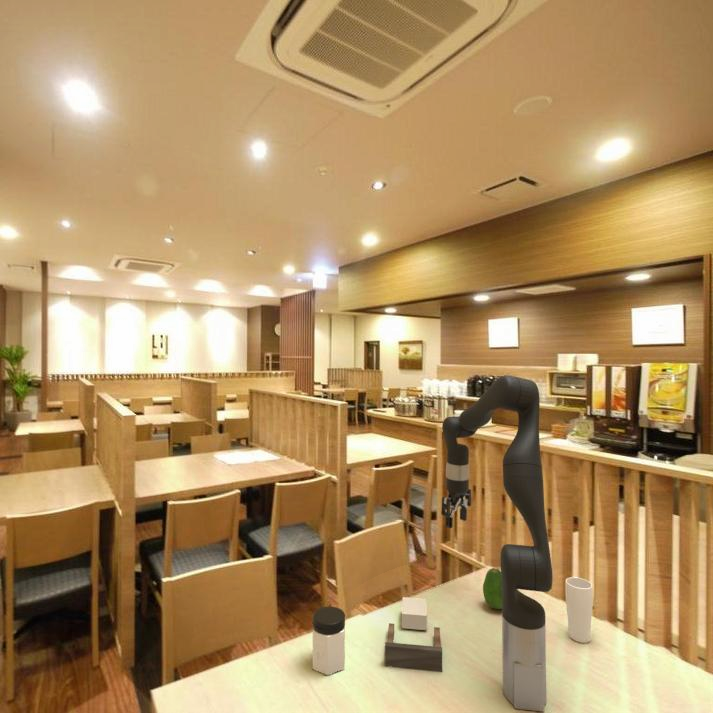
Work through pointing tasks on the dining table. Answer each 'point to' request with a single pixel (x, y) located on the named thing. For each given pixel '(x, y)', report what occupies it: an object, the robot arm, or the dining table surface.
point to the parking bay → (413, 653)
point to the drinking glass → (579, 608)
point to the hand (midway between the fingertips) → (456, 523)
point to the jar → (328, 640)
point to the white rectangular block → (414, 613)
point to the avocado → (493, 588)
